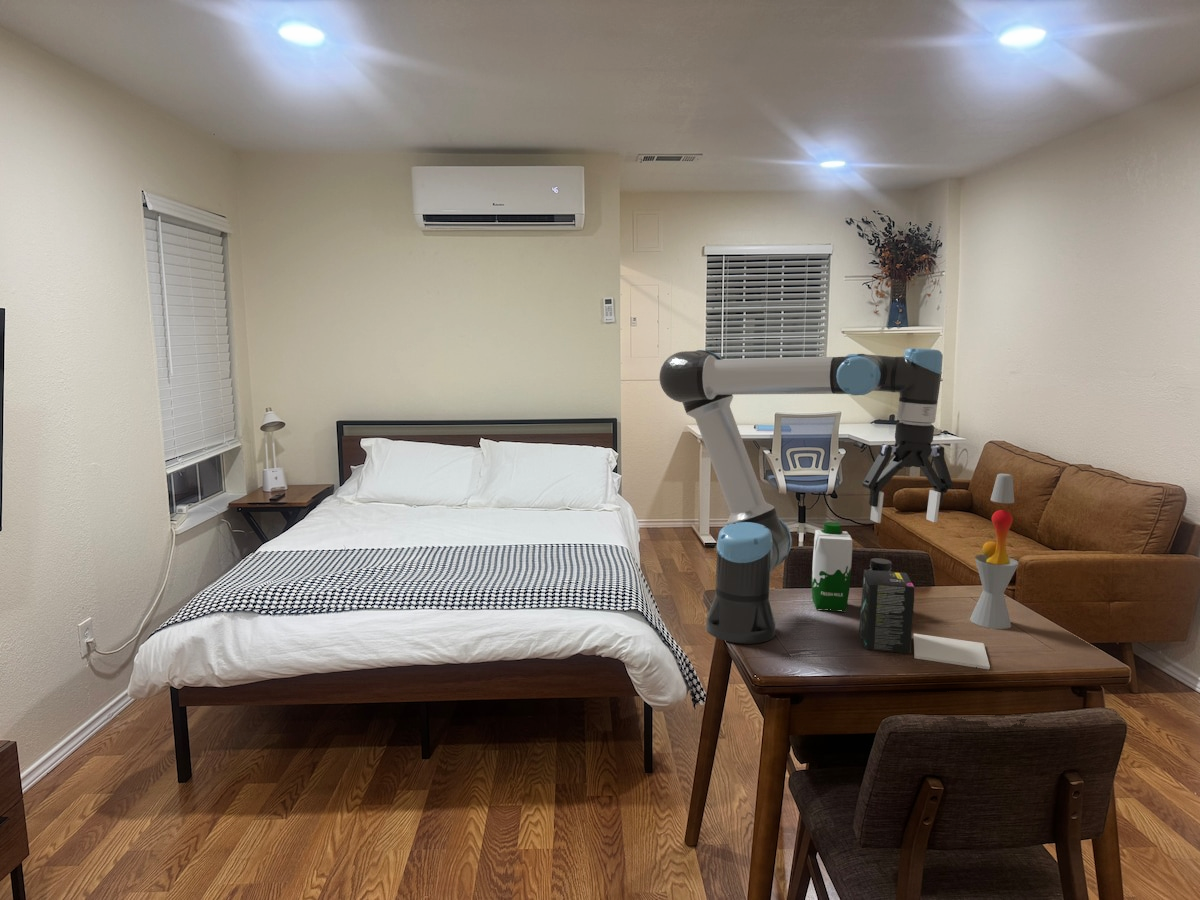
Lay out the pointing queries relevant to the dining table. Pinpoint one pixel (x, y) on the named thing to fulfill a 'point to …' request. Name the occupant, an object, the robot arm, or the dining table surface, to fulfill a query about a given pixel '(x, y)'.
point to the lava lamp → (996, 563)
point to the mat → (950, 651)
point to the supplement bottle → (880, 564)
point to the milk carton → (831, 567)
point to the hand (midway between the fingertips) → (903, 521)
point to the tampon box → (887, 611)
